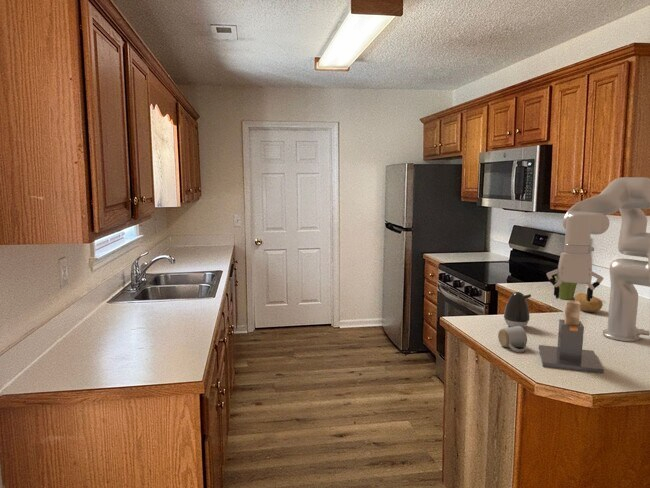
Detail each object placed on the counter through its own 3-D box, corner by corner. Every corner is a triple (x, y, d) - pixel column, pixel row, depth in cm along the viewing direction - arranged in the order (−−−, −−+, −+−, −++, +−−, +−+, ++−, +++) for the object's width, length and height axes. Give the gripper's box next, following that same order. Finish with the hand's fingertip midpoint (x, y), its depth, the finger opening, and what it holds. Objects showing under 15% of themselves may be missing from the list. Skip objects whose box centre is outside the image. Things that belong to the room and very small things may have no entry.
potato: (591, 316, 222) (592, 299, 221) (568, 308, 235) (569, 292, 234) (608, 314, 224) (609, 297, 223) (585, 306, 238) (586, 291, 236)
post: (574, 352, 169) (578, 301, 167) (576, 356, 165) (580, 303, 163) (561, 351, 171) (565, 300, 168) (563, 355, 167) (567, 302, 164)
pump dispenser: (531, 331, 200) (534, 295, 198) (505, 329, 202) (507, 294, 200) (526, 323, 210) (528, 289, 208) (501, 322, 212) (503, 288, 210)
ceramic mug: (496, 343, 185) (497, 324, 184) (515, 342, 187) (516, 323, 185) (512, 354, 175) (513, 334, 173) (532, 352, 176) (533, 332, 175)
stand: (592, 354, 174) (595, 318, 172) (602, 373, 157) (606, 333, 155) (538, 348, 180) (540, 313, 178) (542, 366, 163) (545, 327, 161)
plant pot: (578, 297, 256) (580, 276, 255) (576, 302, 246) (578, 280, 245) (554, 294, 262) (556, 274, 261) (551, 299, 253) (552, 278, 251)
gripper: (603, 249, 163) (598, 299, 166) (547, 246, 169) (544, 294, 171) (607, 252, 156) (603, 304, 159) (549, 249, 162) (545, 299, 164)
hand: (572, 299), depth 165 cm, fingers open, 9 cm apart
